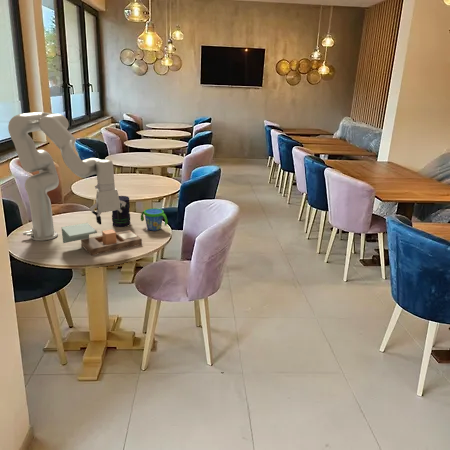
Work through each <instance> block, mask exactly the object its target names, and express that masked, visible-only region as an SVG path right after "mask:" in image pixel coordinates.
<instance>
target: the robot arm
mask: <svg viewBox="0 0 450 450" xmlns="http://www.w3.org/2000/svg"><path fill="white" fill-rule="evenodd" d="M69 124H70V123H69V120H68V119H67V118H66V116H65V115H63V114H61V113H53V112H44V111H42V112H40V111H37V112H35V111H34V112H25V113H19V114H16V115H14V116H13V117H12V118H10V120H9V121H8V126H7V128H8V130H7V131H8V133H9V136H10V138H11V141H12V142H13V145H14V148H15V151H16V153H17V156H18V159H19V162H20V165H21V168H22V169H23V170H24V172H27V173H35V172H38V173H36V174H32V175H31V176H29V177H28V178H27V179H26V180H25V183H24V188H25V191H26V194H27V199H28V201H29V209H30V216H31V223H32V225H31V226H32V227H31V229H30V230H26V231H22V236H27V237H30V239H31V240H33V241H36V242H37V241H38V242H39V241H41V242H42V241H49V240H53V239H55V238H56V237H58V231H56V230H55V227H54V218H53V217H54V216H53V210H52V203H51V199H50V197H49V195H48V192H50V191H53V190H55V189H57V188H58V186H59V184H60V179H59V174H58V171H57V168H56V165H55V161H54V159H53V157H52V155H51V154H50V153H49V152H48V151H47V150H45V149H37V147H36V143H35V142H34V140H33V138H32V137H31V136H30V135H29V133H33V132H38V131H39V132H41V131H42V133H44V134H45V136H46V137H48V139H49V140H51V142H53V144H54V145H55V146H56V147H57V148H58V149H59V150H60V154H61V155H60V156H61V157H62V160H63V163H64V164H65V165H66V167H67V168H68V169H69V170H70V171H71V172H72V173H73V174H75V175H76V177H79V178H80V179H81V178H82V179H85V178H88V177H90V176H93V175H96V180H97V185H94V188H95V190H96V189H97V190H96V196H95V197H96V198H95V203H94V204H93V205H91V206H90V207H89V210H90V212H91V213H92V214H93V215H95V219H96V223H97V224H98V225H102V217H101V215H102V213H108V212H109V213H110V212H112V211H115V210H118V211H117V219H118V220H119V221H121V218H122V215H121V212H122V211H123V209H124V208H125V205H126V202H124V201H121V200H119V196H120V195H119V192H118V189H117V188H116V184H115V173H114V172H115V171H114V163H113V161H112V160H111V159H100V158H96V157H90V158H86V159H81V158H80V157H79V156H78V154H77V153H76V152H75V150H74V144H75V143H76V137H75V136H74V135H73V134H72V133H71V132H70V131H69V130H68V128H69ZM120 203H121V204H122V206H121V207H120ZM95 209H96V211H95Z"/></svg>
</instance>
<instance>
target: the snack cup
mask: <svg viewBox="0 0 450 450" xmlns="http://www.w3.org/2000/svg"><path fill="white" fill-rule="evenodd" d="M163 219H164V227H166V226H167V225H168V222H169V221H168V218H167V215H166V213H165V212H164V210H163V209H161V208H154V207H153V208H146V209H144V210H143V211H142V212H141V214H140V221H141V222H143V221H145V224H146V229H147V231H153V232H155V231H159V230H161V229H162V224H163Z"/></svg>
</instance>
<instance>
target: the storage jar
mask: <svg viewBox="0 0 450 450" xmlns="http://www.w3.org/2000/svg"><path fill="white" fill-rule="evenodd" d="M119 200H121V201H124V202H126V205H125V208H124V209H123V211H122V212H121V215H122V218H121V221H119V220H118V219H117V211H118V210H115V211H111V213H112V215H111V222H112V226H113V227H116V228H126V227H128V225H129V226H130V225H131V214H130V207H131V206H130V202H131V201H130V197H129V196H127V195H119ZM121 206H122V204H121V203H120V207H121ZM125 226H126V227H125Z"/></svg>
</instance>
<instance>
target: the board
mask: <svg viewBox="0 0 450 450" xmlns="http://www.w3.org/2000/svg"><path fill="white" fill-rule="evenodd" d="M116 240H117V243H112V244H108V245H105V244H104V243H103V237H102V235H98V236H97V235H96V236H91V237H89V238H88V239H83V240H80V243H81V246H82V248H84V250H85V251H86V252H88V253H89V255H90V256H94V255H99V254H104V253H107V252H108V253H109V252H114V251H119V250H123V249H127V248H132V247H136V246H141V245H143V242H142V241H143V240H142V237H140V236H138V234H136V233H135V232H133V231H132V230H130V229H129V230H124V231H123V230H122V231H118V232H116Z"/></svg>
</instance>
